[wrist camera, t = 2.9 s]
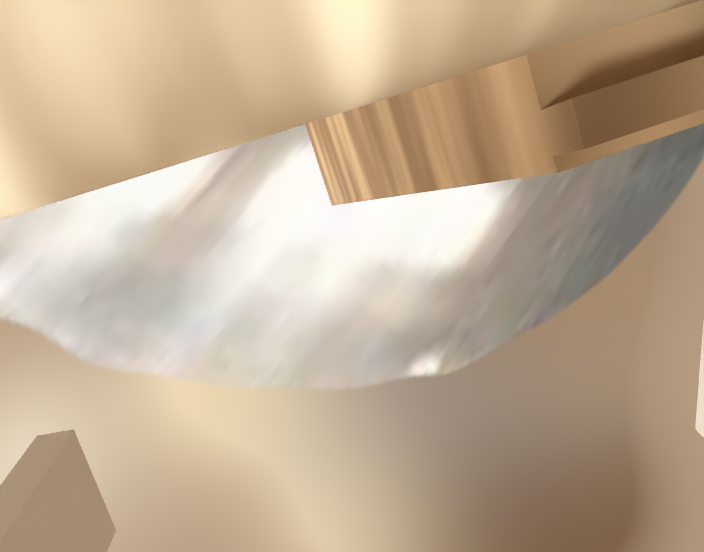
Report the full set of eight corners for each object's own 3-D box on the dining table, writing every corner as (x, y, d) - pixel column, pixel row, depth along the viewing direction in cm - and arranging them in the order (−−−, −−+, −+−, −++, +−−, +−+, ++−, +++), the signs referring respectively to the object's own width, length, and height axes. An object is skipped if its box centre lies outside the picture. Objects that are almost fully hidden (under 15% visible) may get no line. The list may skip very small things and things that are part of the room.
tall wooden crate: (332, 205, 47) (589, 168, 9) (273, 25, 45) (271, -1083, 7) (463, 162, 48) (1203, -40, 10) (412, -16, 46) (1111, -1163, 8)
